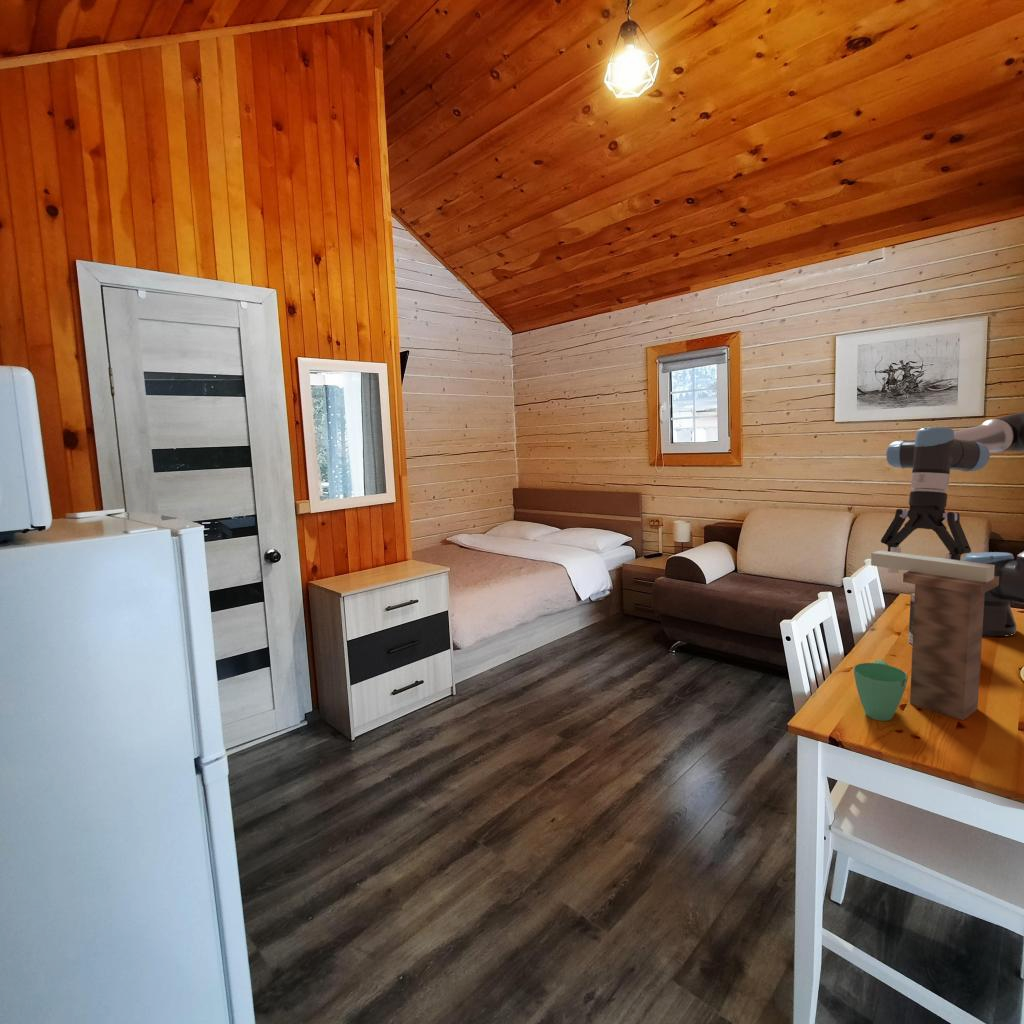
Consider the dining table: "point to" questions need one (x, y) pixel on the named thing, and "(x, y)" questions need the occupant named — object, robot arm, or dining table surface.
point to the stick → (934, 565)
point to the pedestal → (947, 642)
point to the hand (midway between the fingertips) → (919, 577)
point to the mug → (880, 688)
